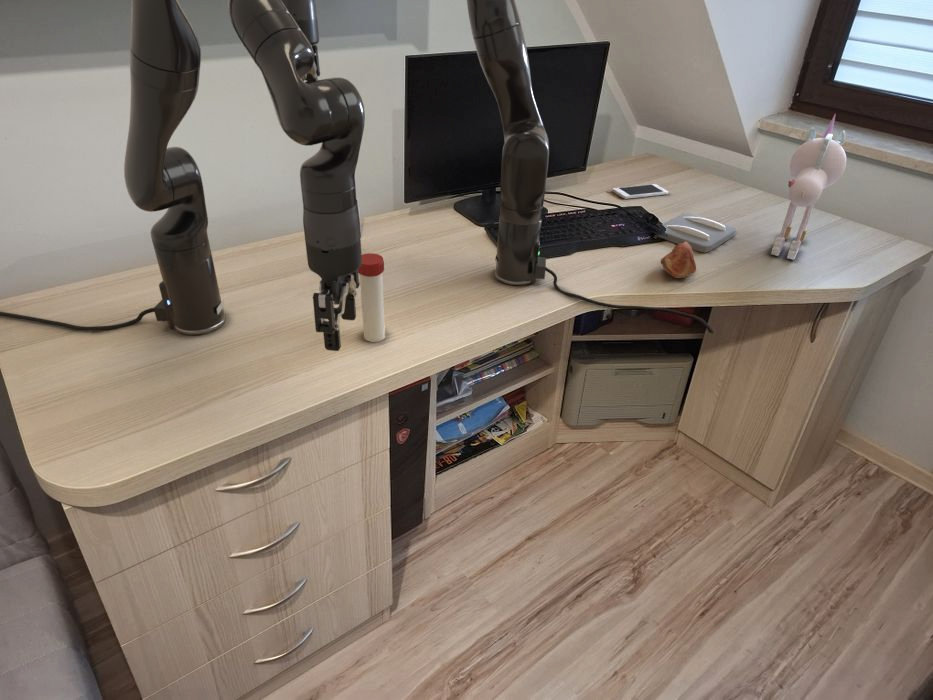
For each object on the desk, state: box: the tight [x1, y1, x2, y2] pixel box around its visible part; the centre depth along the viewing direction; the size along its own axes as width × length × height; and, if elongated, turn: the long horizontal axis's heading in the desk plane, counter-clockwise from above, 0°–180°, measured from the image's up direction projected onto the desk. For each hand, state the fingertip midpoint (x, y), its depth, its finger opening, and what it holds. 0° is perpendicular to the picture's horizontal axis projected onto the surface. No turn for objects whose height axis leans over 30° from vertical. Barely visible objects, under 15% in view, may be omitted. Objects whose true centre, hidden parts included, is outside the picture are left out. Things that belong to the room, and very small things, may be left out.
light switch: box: [654, 212, 737, 253], centre depth 167 cm, size 18×3×15 cm
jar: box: [359, 273, 386, 343], centre depth 118 cm, size 4×4×16 cm
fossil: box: [660, 241, 697, 279], centre depth 147 cm, size 13×8×10 cm
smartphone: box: [611, 183, 669, 200], centre depth 193 cm, size 7×15×1 cm, turn 111°
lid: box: [358, 252, 385, 276], centre depth 114 cm, size 5×5×2 cm
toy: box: [770, 112, 847, 261], centre depth 159 cm, size 12×36×30 cm, turn 148°
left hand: (341, 333), depth 97 cm, fingers open, 8 cm apart
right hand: (306, 105), depth 129 cm, fingers open, 8 cm apart
